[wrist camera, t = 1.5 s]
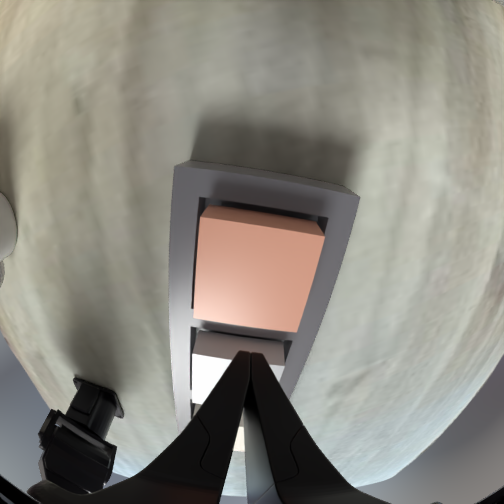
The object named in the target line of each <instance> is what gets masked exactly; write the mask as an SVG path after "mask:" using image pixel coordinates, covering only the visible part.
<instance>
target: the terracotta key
mask: <svg viewBox="0 0 504 504" xmlns="http://www.w3.org/2000/svg"><path fill="white" fill-rule="evenodd" d="M324 239H325V236H324V234H323V232H322V231H321V229H320V227H319V226H318V224H317V222H316V221H311V220H305V219H300V218H294V217H288V216H282V215H276V214H270V213H264V212H258V211H252V210H245V209H239V208H232V207H225V206H218V205H211V204H209V205H208V207H207V208H206V209H205V211H204V212H203V214H202V215H201V216H200V225H199V236H198V248H197V262H196V277H195V294H194V315H193V318H196V319H202V320H208V321H214V322H220V323H226V324H233V325H240V326H247V327H254V328H262V329H270V330H278V331H287V332H297V330H298V327H299V324H300V321H301V318H302V315H303V311H304V308H305V305H306V302H307V299H308V295H309V292H310V289H311V285H312V282H313V279H314V275H315V272H316V268H317V265H318V261H319V258H320V254H321V250H322V247H323V243H324Z"/></svg>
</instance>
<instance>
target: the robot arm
mask: <svg viewBox="0 0 504 504" xmlns="http://www.w3.org/2000/svg"><path fill="white" fill-rule="evenodd" d="M73 382H74V384H75V386H76V388H77V390H78V391H77V392H76V394H75V396H74V398H73V400H72V402H71V404H70V407H69V409H68V410H67V412H66V414H65V415H64V414H63V413H62V412H61V411H60V410H57V411H56V410H53V409H51V411H50V413H49V414H48V416H47V418H46V420H45V422H44V424H43V426H42V427H41V429H40V431H39V433H38V435H39V438H40V441H39V442H40V445H39V448H41V449H42V450H44V451H43V453H42V455H41V457H40V460H39V463H38V464H39V469H40V473H41V477H42V481H40V482H39V483H37V484H35V485H33V486H31V487H30V488H29V489H28V490H27V493H28V494H29V495H30V496H31V497H30V496H29V495H27V494H26V493H24V492H23V491H22V490H20V489H19V488H18V487H16V486H15V485H13V484H12V483H11V482H9V481H8V480H7V479H6V478H4V477H3V476H2V475H1V474H0V504H219V502H220V498H221V494H222V491H223V487H224V483H225V479H226V476H227V472H228V468H229V464H230V460H231V456H232V452H233V449H234V445H235V441H236V437H237V433H238V428H239V424H240V420H241V416H242V412H243V423H244V445H245V465H246V484H247V500H248V504H391V503H388V502H386V501H383V500H380V499H378V498H375V497H373V496H371V495H368V494H366V493H363V492H361V491H359V490H358V489H356V488H354V487H353V486H352V485H351V484H349V483H348V482H347V481H346V480H345V478H344V477H343V476H342V475H341V474H340V473H339V472H338V470H337V469H336V468H335V467H334V466H333V465H332V463H331V462H330V461H329V460H328V459H327V458H326V456H325V455H324V454H323V453H322V451H321V450H320V449H319V447H318V446H317V445H316V443H315V442H314V440H313V439H312V437H311V436H310V434H309V433H308V431H307V429H306V428H305V426H304V425H303V423H302V421H301V419H300V418H299V416H298V414H297V413H296V411H295V409H294V407H293V406H292V404H291V402H290V401H289V399H288V397H287V395H286V394H285V392H284V390H283V388H282V387H281V385H280V383H279V381H278V380H277V378H276V376H275V374H274V372H273V371H272V369H271V367H270V365H269V364H268V362H267V360H266V358H265V356H264V355H263V353H260V352H251V353H250V352H249V351H244V350H239V351H238V352H237V353H236V355H235V356H234V358H233V360H232V361H231V363H230V364H229V366H228V367H227V369H226V370H225V372H224V373H223V375H222V376H221V378H220V379H219V380H218V382H217V383H216V385H215V386H214V388H213V389H212V391H211V392H210V394H209V395H208V397H207V398H206V399H205V401H204V402H203V404H202V405H201V407H200V408H199V410H198V411H197V412H196V414H195V415H194V416H193V418H192V419H191V421H190V422H189V423H188V425H187V426H186V427H185V428H184V430H183V431H182V432H181V433H180V435H179V436H178V437H177V438H176V439H175V440H174V441H173V442H172V443H171V444H170V445H169V446H168V447H167V448H166V449H165V450H164V451H163V452H162V453H161V454H160V455H159V456H158V457H157V458H155V459H154V460H153V461H152V462H151V463H150V464H149V465H148V466H147V467H146V468H144V469H143V470H142V471H140V472H139V473H138V474H136V475H134V476H133V477H131V478H128V479H126V480H124V481H121V482H119V483H117V484H114V485H112V486H109V487H107V488H105V489H103V485H105V484H106V483H107V482H108V481H109V479H110V476H111V474H112V470H113V465H114V460H115V455H116V450H117V446H115V445H112V444H110V443H109V442H107V441H105V438H106V436H107V433H108V430H109V428H110V425H111V423H112V421H113V418H114V416H116V417H119V418H123V417H124V414H123V412H122V409H121V407H120V404H119V402H118V399H117V396H116V394H115V393H114V392H113V391H110V390H107V389H104V388H101V387H99V386H96V385H93V384H91V383H88V382H85V381H83V380H80V379H78V378H74V379H73ZM55 424H58V425H59V426H60V427H59V426H56V425H55ZM32 497H33V498H34V499H33V498H32ZM36 500H37V501H36ZM431 504H442V503H440V502H434V503H431ZM475 504H504V486H502V487H501V488H499V489H498V490H496V491H495V492H493V493H492V494H490V495H488V496H487V497H485V498H483V499H482V500H480V501H478V502H477V503H475Z"/></svg>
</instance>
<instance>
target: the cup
mask: <svg viewBox="0 0 504 504" xmlns="http://www.w3.org/2000/svg"><path fill="white" fill-rule="evenodd" d="M16 241H17V226H16V220H15V216H14V212H13V210H12V207H11V205H10V203H9V201H8V200H7V198H6V197H5V196H4V195H3V194H2V193H0V287H1V285H2V283H3V280H4V274H5V271H4V263H3V259H4V258H6V257H7V256H8V255H10V254H11V253H12V252H13V250H14V247H15V245H16Z"/></svg>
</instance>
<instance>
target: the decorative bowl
mask: <svg viewBox="0 0 504 504" xmlns="http://www.w3.org/2000/svg"><path fill="white" fill-rule="evenodd" d="M492 1H494V2H496V3H498V4H500V5H502V6H503V7H504V0H492Z"/></svg>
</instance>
